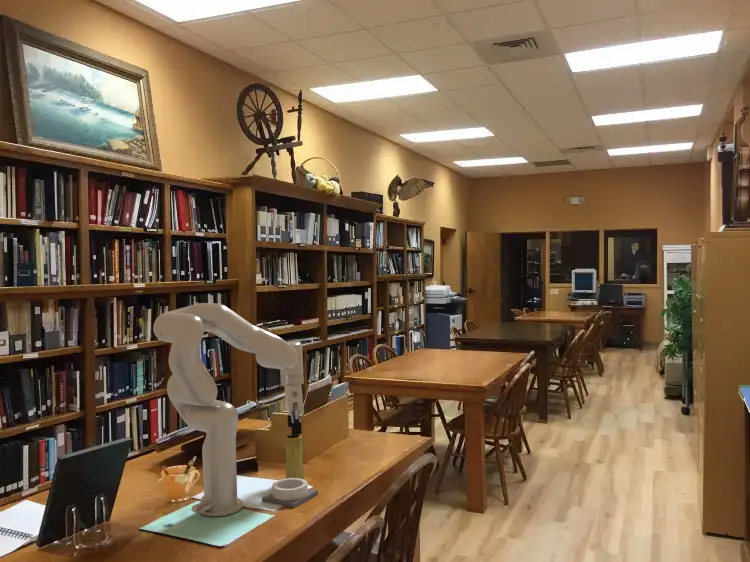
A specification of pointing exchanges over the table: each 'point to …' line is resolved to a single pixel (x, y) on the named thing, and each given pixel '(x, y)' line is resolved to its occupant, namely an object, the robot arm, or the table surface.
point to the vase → (294, 457)
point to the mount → (290, 492)
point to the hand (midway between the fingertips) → (294, 430)
